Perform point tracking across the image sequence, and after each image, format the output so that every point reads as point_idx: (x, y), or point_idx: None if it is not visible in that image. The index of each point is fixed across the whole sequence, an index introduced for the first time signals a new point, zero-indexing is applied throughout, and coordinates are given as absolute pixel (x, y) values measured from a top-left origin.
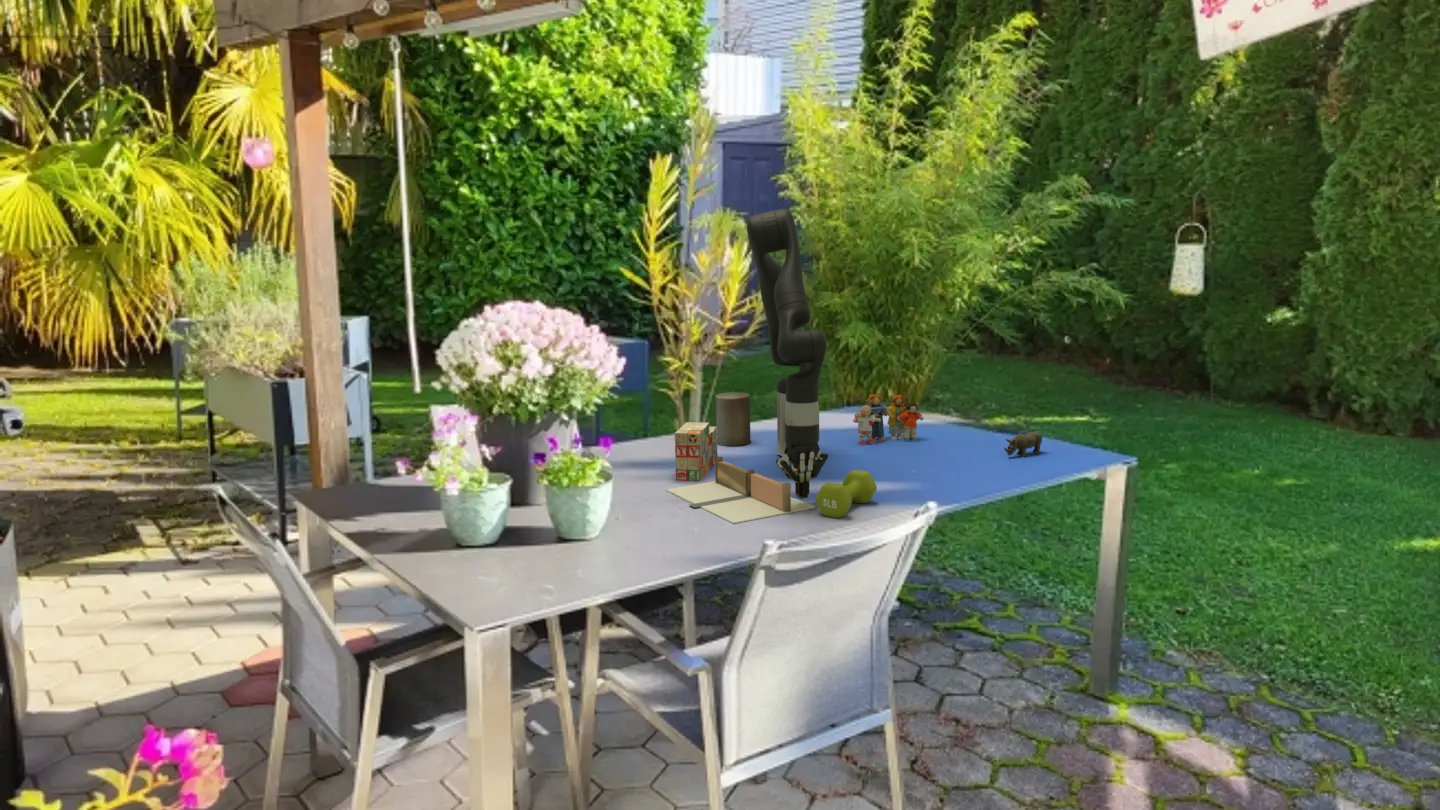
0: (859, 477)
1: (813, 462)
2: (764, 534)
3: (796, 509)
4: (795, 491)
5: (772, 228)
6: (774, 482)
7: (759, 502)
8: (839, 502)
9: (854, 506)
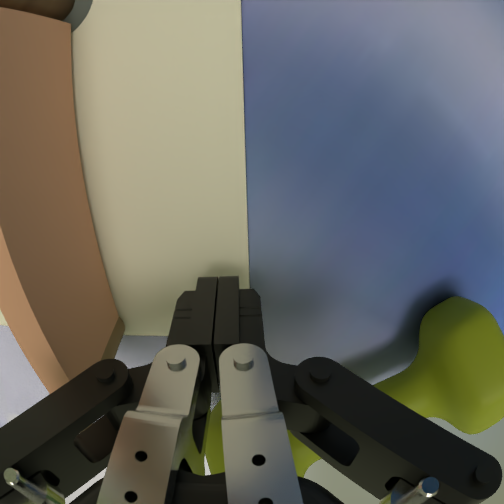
0: (456, 427)
1: (380, 456)
2: (27, 402)
3: (154, 327)
4: (175, 309)
5: None
6: (16, 320)
7: None
8: None
9: (385, 361)
